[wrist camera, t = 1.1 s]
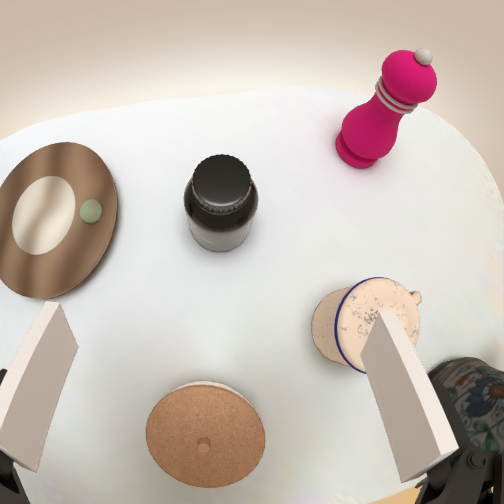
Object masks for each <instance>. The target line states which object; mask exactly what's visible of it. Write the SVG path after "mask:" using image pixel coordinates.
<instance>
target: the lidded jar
mask: <svg viewBox="0 0 504 504" xmlns="http://www.w3.org/2000/svg"><path fill="white" fill-rule="evenodd" d="M146 440H147V445H148V448H149V451H150V453H151V455H152V457H153V458H154V460H155V461H156V463H157V464H158V465H159V466H160V467H161V468H162V469H163V470H164V471H165V472H166V473H167V474H169V475H170V476H172V477H173V478H175V479H177V480H179V481H181V482H183V483H186V484H188V485H192V486H197V487H205V488H214V487H222V486H226V485H230V484H233V483H235V482H237V481H239V480H241V479H243V478H244V477H246V476H247V475H248V474H249V473H250V472H251V471H253V470H254V468H255V467H256V466H257V464H258V463H259V461H260V459H261V457H262V455H263V451H264V448H265V432H264V429H263V425H262V422H261V420H260V418H259V416H258V414H257V413H256V411H255V410H254V408H253V407H252V406H251V404H250V403H249V402H248V401H247V400H246V398H245V397H244V396H242V395H241V394H240V393H239V392H237V391H236V390H234V389H232V388H231V387H229V386H226V385H224V384H221V383H217V382H211V381H197V382H191V383H188V384H185V385H182V386H180V387H178V388H176V389H174V390H173V391H171V392H170V393H169V394H167V395H166V396H165V397H164V398H162V399H161V400H160V401H159V402H158V403H157V405H156V406H155V407H154V409H153V410H152V412H151V413H150V416H149V418H148V421H147V426H146Z"/></svg>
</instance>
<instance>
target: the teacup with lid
mask: <svg viewBox="0 0 504 504" xmlns="http://www.w3.org/2000/svg"><path fill="white" fill-rule="evenodd" d="M421 300H422V297H421V294H420V292H418V291H412V292H408V290H407V289H406V288H405V287H403V286H402V285H401V284H399V283H398V282H396V281H393V280H391V279H388V278H383V277H374V278H369V279H366V280H363V281H361V282H359V283H357V284H356V285H355V286H352V287H348V288H345V289H342V290H338V291H335V292H333V293H331V294H330V295H328V296H327V297H325V298H324V299H323V300H322V301H321V303H320V304H319V305H318V307H317V309H316V311H315V313H314V316H313V320H312V336H313V339H314V342H315V344H316V346H317V348H318V349H319V351H320V352H321V353H322V354H323V355H324V356H325V357H327V358H328V359H330V360H332V361H335V362H338V363H341V364H344V365H347V366H351V367H352V368H354V369H355V370H357V371H359V372H362V373H365V374H367V373H366V370H365V368H364V365H363V362H362V359H361V357H360V354H361V351H362V349H363V347H364V345H365V343H366V341H367V338H368V336H369V334H370V332H371V329H372V327H373V325H374V322H375V320H376V317H377V315H378V313H379V312H384V311H395V313H396V315H397V317H398V319H399V321H400V322H401V324H402V326H403V328H404V330H405V332H406V334H407V336H408V338H409V339H410V341H411V343H412V345H413V347H415V345H416V342H417V339H418V335H419V329H420V318H419V312H418V308H417V305H418V304H419V303H420V302H421Z"/></svg>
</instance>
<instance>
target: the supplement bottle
mask: <svg viewBox="0 0 504 504" xmlns="http://www.w3.org/2000/svg"><path fill="white" fill-rule="evenodd" d="M257 206H258V192H257V188H256V185H255V183H254V181H253V180H252V178H251V175H250V174H249V170H248V169H247V167H246V165H244V164H243V162H242V161H240V160H239V159H238V158H235V157H234V156H229V155H223V154H221V155H215V156H210V157H209V158H206V159H205V160H203V161H201V163H200V164H198V166H197V168H196V169H195V171H194V173H193V176H192V177H191V179H190V180H189V182H188V183H187V186H186V188H185V192H184V207H185V211H186V214H187V218H188V221H189V225H190V228H191V231H192V234H193V236H194V238H195V239H196V241H197V242H198V243H199V244H200V245H201V246H203V247H204V248H206V249H208V250H211V251H216V252H225V251H229V250H232V249H234V248H236V247H237V246H239V245H240V244H241V243H242V242H243V241H244V240H245V238H246V236H247V234H248V232H249V230H250V227H251V224H252V221H253V218H254V216H255V213H256V210H257Z"/></svg>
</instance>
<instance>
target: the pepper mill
mask: <svg viewBox="0 0 504 504" xmlns="http://www.w3.org/2000/svg"><path fill="white" fill-rule="evenodd" d="M431 62H432V55H431V53H430V52H429V51H428V50H427V49H424V48H420V49H418V50H417V51H416V52H415V53H414V52H411V51H407V50H399V51H396V52H393V53H391V54H390V55H389V56H388V57H387V58H386V59H385V61H384V62H383V65H382V76H381V77H380V78H379V81H378V82H377V83H376V86H375V89H376V93H375V94H374V96H373V97H372V98H371V100H369V101H368V102H367V103H365V104H362V105H360V106H357V107H355V108H354V109H353V110H351V111H350V112H349V113H348V114H347V115H346V117H345V118H344V120H343V122H342V130H341V132H340V134H339V135H338V137H337V139H336V149H337V151H338V153H339V155H340V157H341V158H342V159H343V160H344V161H345V162H346V163H348V164H349V165H351V166H353V167H356V168H367V167H370V166H372V165H373V164H374V163H375V161H376V160H377V159H378V158H381V157H384V156H385V155H387V154H388V153H389V152H390V150H391V149H392V147H393V146H394V143H395V141H396V137H397V131H398V125H399V122H400V120H401V118H402V117H403V115H404V114H409V113H411V112H412V111H413V110H414V108H416V107H417V105H418V103H421V102H425V101H427V100H428V99H429V98H431V96H432V95H433V94H434V92H435V90H436V86H437V78H436V74H435V72H434V69H433V68H432V66H431V65H430V63H431Z"/></svg>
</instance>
